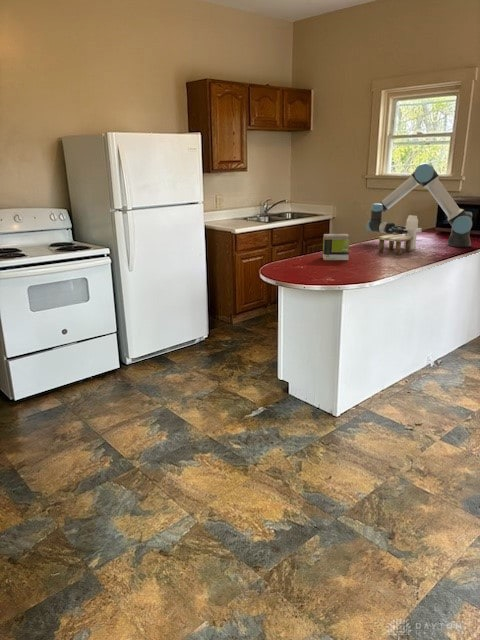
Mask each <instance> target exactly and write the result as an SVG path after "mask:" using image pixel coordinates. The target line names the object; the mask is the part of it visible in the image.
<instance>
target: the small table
mask: <svg viewBox="0 0 480 640" xmlns="http://www.w3.org/2000/svg"><path fill="white" fill-rule="evenodd" d="M412 239H413V237H410V236H405V235H403V234H393V233H392V234H385V235H384V234H383V235H380V236H377V240H379V243H378V252H377V253H384V248H385V247H384V246H385V241H389V242H388V250H389V251H394V255H395V256H400V255H401V249H402V248H401V245H402V243H404V241H406V246H405V249H404V253H405V252H406V254H407V253H409V252H411V249H410V245H411V240H412ZM394 245H395V249H394ZM409 254H410V253H409Z"/></svg>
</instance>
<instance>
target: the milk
mask: <svg viewBox="0 0 480 640" xmlns="http://www.w3.org/2000/svg"><path fill="white" fill-rule="evenodd" d="M418 224H419V219H418V215H411V214H410V215H408V216H407V218H406V221H405V226H406V229H407V230H413V234H405V233H404V236H410V237H413V239H412V240H411V245H410V251H411V250H412V251H413V250H414V249H416V244H417V235H418V232H417V228H419V227H418V226H419V225H418ZM405 246H406V241H403V249H404V250H405Z"/></svg>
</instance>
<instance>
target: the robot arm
mask: <svg viewBox="0 0 480 640" xmlns="http://www.w3.org/2000/svg"><path fill="white" fill-rule="evenodd" d="M434 168H435V167H434V166H433V165H432V164H431V163H429V162H424V163H423V162H422V163H420V164H418V165H417V166H416V167H415V169H414V171H413V172H412V173H411V174H410V177H408V179H406V180H405V181H403V183H401V184H400V185H399V186H398V187H397V188H396V189H394V190H393V191H391V193H389V194H388V195H387V196H386V197H385V198H383V199H382V200H381V201H380V202H379V203H378V202H377V203H372V204H371V208H370V210H371V211H370V220H368V221H367V222H366V225H365V228H366V230H367V231H369V232H373V233H382V234H383V235H384V234H387V235H389V234H393V233H396V234H400V235H403V234H404V235H405V234H413V230H407V229H406V225H403V226H402V225H396V224H395V223H394V222H388V221H382V217H383V214H384V213H386V212H387V211H388V210H389V209H391V208H392V207H393V206H394V205H395V204H397V203H398V202H399V201H401V200H402V199H403V198H404V197H405V196H406V195H407V194H409V193H410V192H411V191H413V189H415V188H416V187H417V186H422V188H424V189H427V190H428V192H429V193H430V195H432V197H433V198H434V199H435V200H434V201H436V203H437V204H438V205H439V207H440V208H441V209H442V211H443V212H444V214H445V215H446V216H447V222H448V223H449V224H450V226H451V231H450V235H449V238H448V239H447V241H446V246H450V247H454V248H455V247H456V248H457V247H458V248H468V247H471V238H470V237H471V236H470V231H471V229H472V227H473V220H472V218H473V213H472V212H471V211H466V210H465V209H463V208H460V207H459V206H458V204H457V203H456V201H455V200H454V199H453V197H452V196H451V195H450V193H449V192H448V191H447V189H446V188H445V186H444V185H443V183H442V182H441V181H440V180H439V178H440V175H439V174H438V173H437V171H436V170H435V169H434ZM422 229H423V228H422V227H417V233H422Z"/></svg>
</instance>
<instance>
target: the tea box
mask: <svg viewBox="0 0 480 640" xmlns="http://www.w3.org/2000/svg"><path fill="white" fill-rule="evenodd" d="M322 237H323V238H322V240H323V241H322V258H323V260H324V261H349V260H350V259H349V257H350V256H349V255H350V238H351V237H350V235H349V234H348V233H324V234H323V236H322Z"/></svg>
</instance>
